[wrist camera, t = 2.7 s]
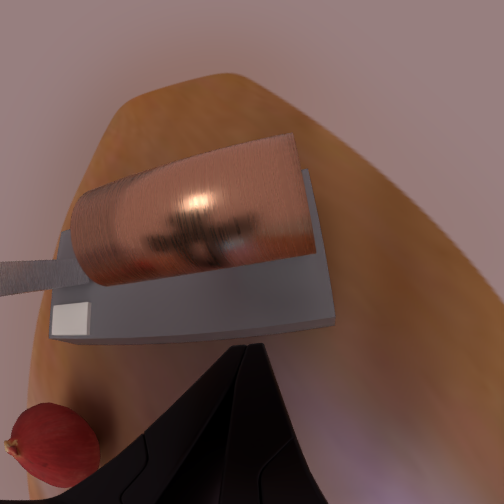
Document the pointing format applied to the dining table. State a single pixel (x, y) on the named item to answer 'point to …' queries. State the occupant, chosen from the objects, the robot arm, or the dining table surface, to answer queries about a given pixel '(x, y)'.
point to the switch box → (199, 301)
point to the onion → (54, 445)
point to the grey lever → (39, 275)
